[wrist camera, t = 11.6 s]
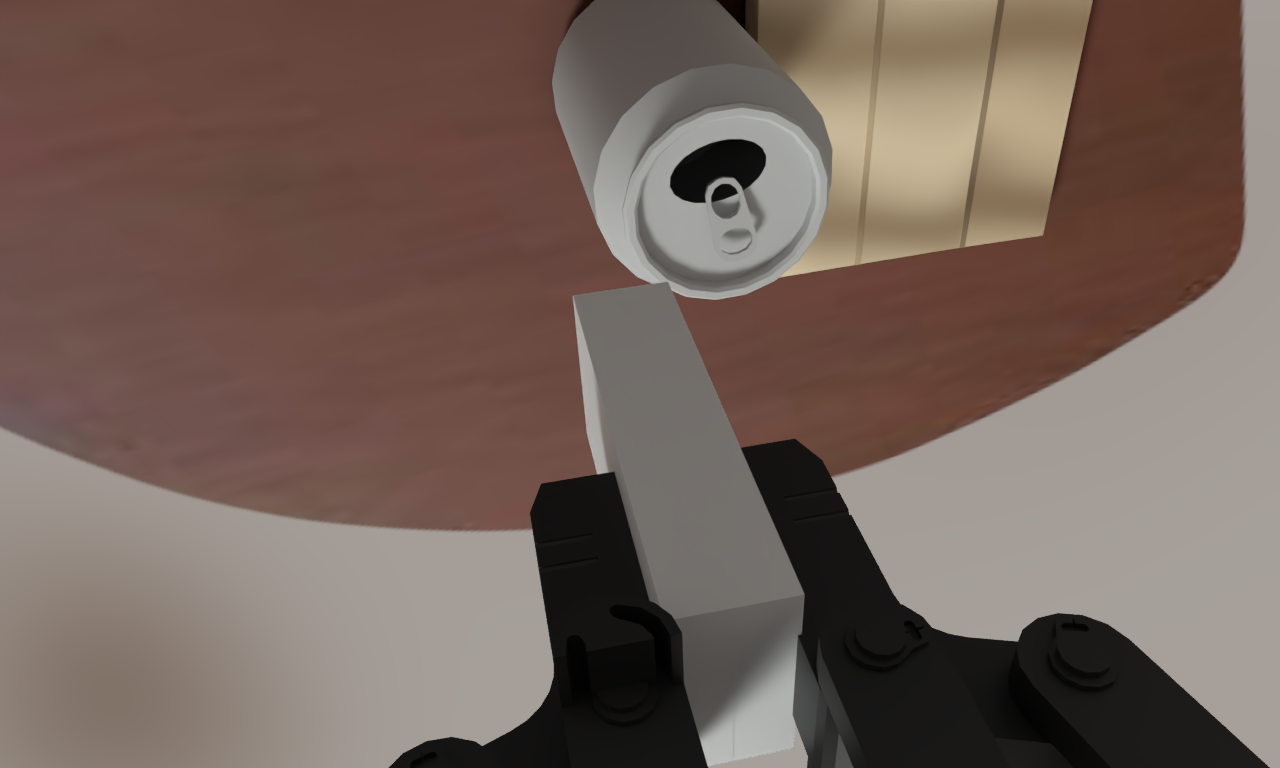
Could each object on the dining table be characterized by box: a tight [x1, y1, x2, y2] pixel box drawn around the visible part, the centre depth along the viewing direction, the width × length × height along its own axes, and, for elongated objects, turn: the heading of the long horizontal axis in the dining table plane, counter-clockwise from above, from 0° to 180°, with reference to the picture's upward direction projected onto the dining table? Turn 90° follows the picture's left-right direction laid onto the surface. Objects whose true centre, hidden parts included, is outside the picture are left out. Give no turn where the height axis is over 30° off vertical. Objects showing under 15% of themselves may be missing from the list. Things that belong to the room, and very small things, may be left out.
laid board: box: [959, 0, 1093, 248], centre depth 39 cm, size 20×4×2 cm, turn 3°
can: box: [552, 0, 833, 300], centre depth 34 cm, size 8×8×12 cm
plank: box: [745, 0, 998, 277], centre depth 38 cm, size 20×10×2 cm, turn 3°
